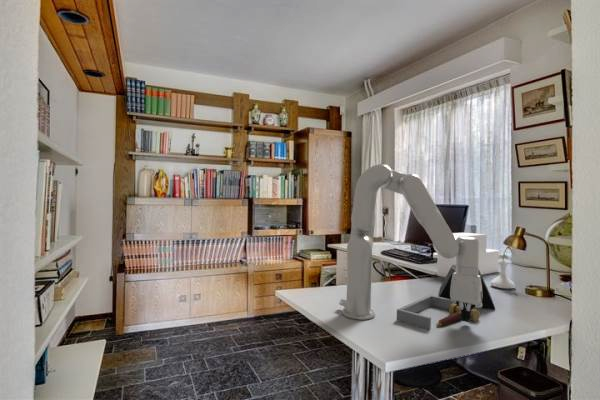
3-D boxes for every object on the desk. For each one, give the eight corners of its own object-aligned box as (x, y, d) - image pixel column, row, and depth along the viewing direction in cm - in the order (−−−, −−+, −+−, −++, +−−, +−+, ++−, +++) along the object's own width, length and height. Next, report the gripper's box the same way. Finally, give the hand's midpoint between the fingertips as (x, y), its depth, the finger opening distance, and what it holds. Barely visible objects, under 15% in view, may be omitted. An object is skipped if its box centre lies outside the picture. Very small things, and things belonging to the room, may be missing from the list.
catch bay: (396, 320, 131) (396, 309, 130) (429, 303, 151) (429, 294, 151) (428, 329, 122) (429, 318, 122) (459, 310, 143) (459, 301, 142)
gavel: (450, 323, 120) (424, 315, 128) (450, 336, 120) (424, 327, 128) (479, 308, 133) (454, 302, 141) (479, 320, 133) (455, 313, 141)
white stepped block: (472, 267, 236) (473, 230, 236) (499, 272, 220) (500, 233, 220) (429, 273, 212) (430, 233, 212) (456, 280, 197) (457, 237, 196)
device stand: (437, 302, 154) (438, 269, 154) (439, 290, 174) (440, 261, 174) (495, 310, 145) (495, 275, 145) (490, 296, 165) (490, 265, 165)
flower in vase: (510, 291, 174) (511, 242, 173) (486, 286, 183) (487, 239, 182) (520, 287, 182) (521, 240, 182) (496, 283, 191) (498, 238, 190)
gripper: (442, 269, 129) (441, 317, 130) (485, 275, 119) (484, 328, 119) (450, 266, 135) (449, 313, 135) (492, 272, 124) (491, 323, 124)
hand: (465, 320), depth 127 cm, fingers closed
